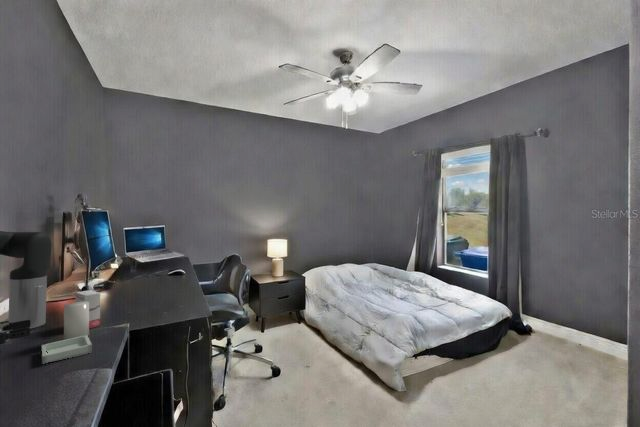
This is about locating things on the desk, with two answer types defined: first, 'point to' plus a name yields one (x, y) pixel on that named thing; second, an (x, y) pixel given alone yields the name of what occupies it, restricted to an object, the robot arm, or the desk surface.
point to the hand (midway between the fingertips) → (30, 327)
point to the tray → (66, 349)
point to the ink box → (91, 305)
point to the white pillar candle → (76, 319)
